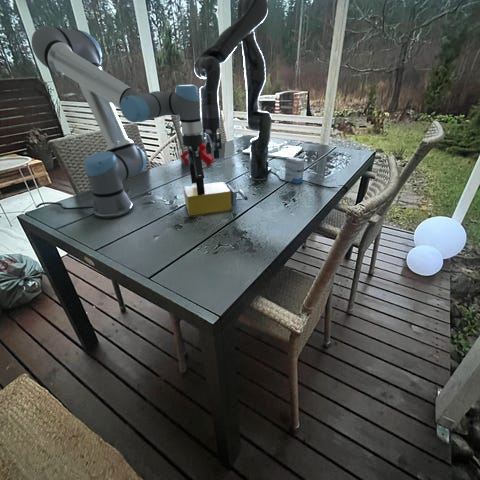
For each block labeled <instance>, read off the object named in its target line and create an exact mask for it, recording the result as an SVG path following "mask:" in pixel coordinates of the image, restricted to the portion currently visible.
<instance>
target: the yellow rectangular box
mask: <svg viewBox="0 0 480 480" xmlns="http://www.w3.org/2000/svg"><path fill="white" fill-rule="evenodd" d="M204 191H205V195H198V194H197V185H196V184H195V185H186V186H185V185H184V186H183V195H184V202H185V203H184V205H185V208H186V211H187V213H188V216H189V218H197V217H203V216H210V215H215V214H223V213H230V212H232V205H231V191H230V190H229V189H228V187H227V184H226V183H225V182H224V181H220V182H219V181H218V182H211V183H204Z"/></svg>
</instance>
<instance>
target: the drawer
mask: <svg viewBox="0 0 480 480" xmlns="http://www.w3.org/2000/svg"><path fill="white" fill-rule="evenodd" d="M226 186H227V187H228V189H229V190H230V191H231V207H232V208H233V209H237V201H242V200H244V201H248V200H249V197H248V196H247V195H246V194H245V193H244V191H243V190H242V189H239V190H235V189H234V188H233V187H232V185H230V183H226ZM237 194H239V195H240V196H241V197H238V198H237Z"/></svg>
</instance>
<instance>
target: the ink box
mask: <svg viewBox="0 0 480 480" xmlns="http://www.w3.org/2000/svg"><path fill="white" fill-rule="evenodd" d="M305 162H306V159H304V158H299V157H296V156H294V157H289V158H287V159H286V158H285V169H284V180H285V181H284V182H289V183H293V184H295V185H298V184H300V183H302V182H304V181H303V180H304V173H305V171H304V170H305Z"/></svg>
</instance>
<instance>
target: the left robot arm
mask: <svg viewBox="0 0 480 480" xmlns="http://www.w3.org/2000/svg"><path fill="white" fill-rule="evenodd" d="M31 48H32V51H33V53H34V55H35V57H36V58H37V60H38V61H39V62H40V64H42V65H43V66H44V67H46V68H47V69H48V70H50V71H52V72H53V73H55V74H57V75H60V76H64V75H65V77H68V78H69V79H71V80H73V81H74V82H76V83H78V85H79V87H80V90H81V92H82V94H83V96H84V98H85V100H86V102H87V105H88V107H89V109H90V112H91V113H92V115H93V118H94V120H95V122H96V124H97V126H98V128H99V130H100V132H101V134H102V136H103V138H104V141H105V143H106V148H105V150H103V151H99V152H94V153H92V154H89V155H88V156H86V157H85V158H84V161H83V166H84V169H85V170H84V171H85V174H86V176H87V179H88V183H89V185H90V188H91V192H92V195H93V205H89V206H74V207H73V206H72V207H65V206H64V204H63V203H61V202H55V201H53V202H52V201H45V202H41V203H39V204H37V205H36V206H35V209H39V208H40V207H41V206H43V205H44V206H45V205H57V206H58V205H59V206H60V207H61V209H63V210H70V211H71V210H80V209H81V210H82V209H83V210H84V209H93V213H94V216H95V217H96V218H98V219H103V220H104V219H105V220H109V219H116V218H120V217H124V216H126V215H128V214H130V213H131V212H132V211H133V210H134V206H133V202H132V201H131V199H130V198H129V197H128V195H127V192H126V191H125V188H124V185H123V182H125V181H127V180H129V179H131V178H133V177H136V176H138V175H140V174H141V173H143V172H144V170H145V169H146V167H147V157H146V154H145V152H144V151H143V149H141V148H140V147H139V146H136V144H135V142H134V141H133V140H132V139H130V138H128V135H127V134H126V131H125V129H124V127H123V124H122V122H121V119H120V118H119V115H118V113H117V110H116V108H118V109H120V111H121V114H122V116H124V117H125V120H126V121H129V122H130V123H143V122H145V121H150V120H152V119H157V118H161V117H164V116H165V117H166V116H177V117H178V119H179V124H178V128H180V133H181V134H182V135H181V143H182V145H183V147H187V150H188V162H189V163H187V164H188V166H189V175H190V181H191V185H192V184H195V185H197V194H198V195H205V191H204V184H205V181H204V180H205V174H204V168H203V161H202V159H201V155H200V150H198V146H200V145H202V144H203V130H202V129H203V128H202V123H201V105H200V94H199V90H198V87H197V86H196V85H195V84H177V85H176V86H175V91H159V90H156V91H150V92H147V93H141V92H139V91H137V90H136V89H134V88H132V87H130V86H129V85H127V84H126V83H124V82H122V81H121V80H120V79H118V78H117V77H114V76H113V75H111V74H110V73H109V72H106V71H105V70H103V69H102V66H101V64H102V62H103V59H102V58H103V53H102V49H101V47H100V44H99V43H98V42H97V40H96V39H95V38H94V37H93V36H92V34H89V33H88V32H87V31H84V30H80V29H77V28H64V27H57V26H51V25H45V26H40V27H38V28H37V29H36V30H35V31H34V32H33V34H32V36H31ZM115 107H116V108H115Z"/></svg>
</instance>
